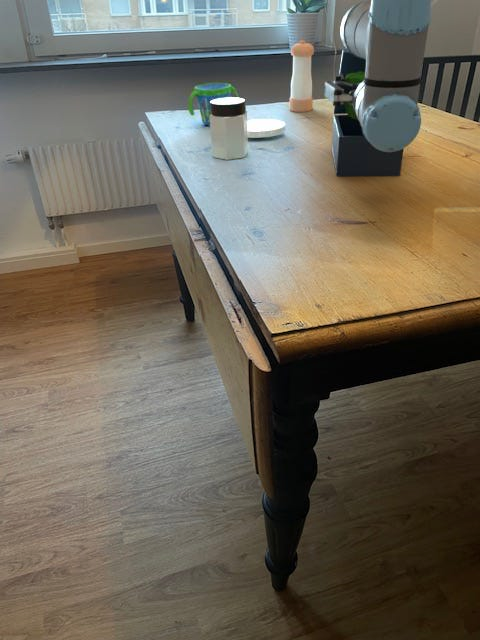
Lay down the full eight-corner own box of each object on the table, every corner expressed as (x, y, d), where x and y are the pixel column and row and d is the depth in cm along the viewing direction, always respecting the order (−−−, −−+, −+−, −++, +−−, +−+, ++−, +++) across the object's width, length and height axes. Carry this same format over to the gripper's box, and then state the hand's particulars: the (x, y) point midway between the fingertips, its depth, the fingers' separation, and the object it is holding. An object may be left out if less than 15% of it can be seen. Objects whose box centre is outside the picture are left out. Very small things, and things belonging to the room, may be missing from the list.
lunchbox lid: (412, 50, 93) (411, 24, 94) (342, 52, 95) (342, 27, 96) (390, 113, 114) (390, 91, 115) (333, 114, 115) (333, 92, 116)
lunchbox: (400, 175, 102) (405, 135, 98) (336, 176, 103) (339, 136, 99) (386, 148, 118) (390, 113, 114) (331, 149, 120) (333, 114, 115)
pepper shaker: (310, 106, 161) (312, 38, 151) (314, 111, 155) (317, 40, 144) (287, 107, 161) (288, 39, 150) (291, 112, 155) (292, 42, 144)
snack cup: (197, 131, 140) (193, 91, 135) (184, 123, 148) (180, 86, 143) (247, 123, 146) (245, 85, 140) (231, 116, 154) (230, 80, 148)
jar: (242, 148, 124) (240, 95, 117) (253, 156, 118) (252, 101, 111) (207, 152, 122) (203, 99, 115) (217, 161, 115) (213, 106, 109)
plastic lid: (275, 126, 141) (275, 117, 140) (292, 138, 130) (292, 128, 128) (227, 131, 138) (227, 122, 137) (240, 144, 127) (240, 133, 126)
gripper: (311, 130, 83) (308, 102, 102) (442, 127, 81) (415, 99, 100) (312, 80, 79) (309, 61, 98) (451, 76, 77) (421, 57, 95)
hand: (363, 80), depth 99 cm, fingers closed on bell pepper, 8 cm apart
